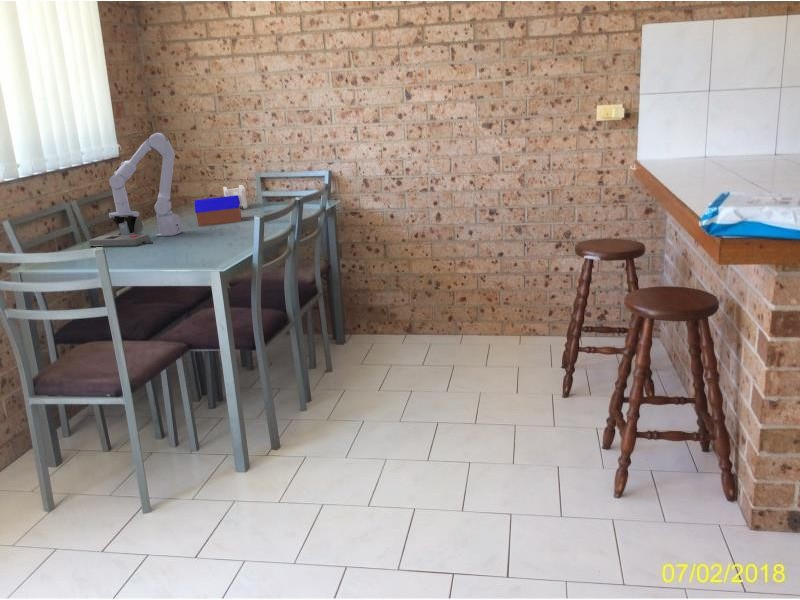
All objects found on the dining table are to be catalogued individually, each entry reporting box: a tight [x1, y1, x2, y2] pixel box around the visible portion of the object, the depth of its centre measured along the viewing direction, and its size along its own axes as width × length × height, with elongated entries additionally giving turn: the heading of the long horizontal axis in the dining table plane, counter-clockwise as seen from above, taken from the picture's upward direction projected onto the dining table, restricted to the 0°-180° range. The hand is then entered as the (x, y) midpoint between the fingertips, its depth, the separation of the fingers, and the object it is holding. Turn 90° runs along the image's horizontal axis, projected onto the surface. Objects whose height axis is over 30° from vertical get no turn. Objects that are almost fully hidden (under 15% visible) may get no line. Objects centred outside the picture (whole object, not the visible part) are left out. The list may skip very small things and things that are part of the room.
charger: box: [118, 222, 134, 235], centre depth 329 cm, size 4×4×7 cm
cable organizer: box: [222, 184, 248, 210], centre depth 384 cm, size 15×11×12 cm
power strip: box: [88, 233, 154, 248], centre depth 319 cm, size 29×9×4 cm, turn 72°
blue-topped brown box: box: [194, 195, 242, 227], centre depth 350 cm, size 12×20×12 cm, turn 99°
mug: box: [117, 217, 144, 235], centre depth 336 cm, size 10×8×10 cm
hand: (127, 232), depth 329 cm, fingers closed on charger, 4 cm apart
